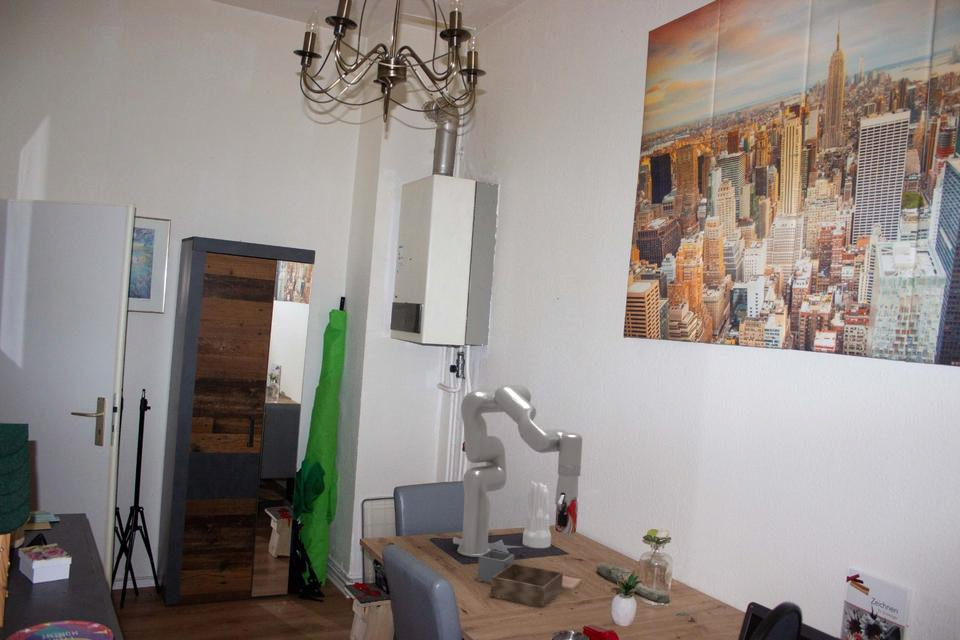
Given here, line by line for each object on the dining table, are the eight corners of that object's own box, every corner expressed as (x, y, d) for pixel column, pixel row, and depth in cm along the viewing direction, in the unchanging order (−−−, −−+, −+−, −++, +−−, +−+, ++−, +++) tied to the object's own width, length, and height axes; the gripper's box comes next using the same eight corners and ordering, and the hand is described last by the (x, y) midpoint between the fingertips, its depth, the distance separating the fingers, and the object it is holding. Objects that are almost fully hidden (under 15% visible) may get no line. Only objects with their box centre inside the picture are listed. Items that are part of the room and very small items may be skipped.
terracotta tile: (542, 584, 265) (543, 581, 265) (553, 576, 274) (553, 573, 274) (571, 590, 261) (572, 587, 261) (581, 581, 270) (581, 579, 270)
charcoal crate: (477, 580, 264) (478, 556, 265) (488, 573, 273) (489, 550, 273) (502, 585, 261) (503, 561, 261) (512, 578, 269) (514, 554, 269)
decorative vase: (532, 539, 320) (536, 476, 320) (555, 544, 314) (559, 480, 314) (517, 544, 312) (521, 479, 312) (540, 550, 305) (544, 484, 305)
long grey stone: (652, 609, 252) (676, 607, 256) (654, 593, 252) (679, 591, 256) (587, 570, 283) (610, 569, 287) (589, 555, 282) (612, 554, 287)
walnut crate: (490, 596, 250) (491, 576, 250) (511, 581, 266) (513, 563, 266) (543, 607, 243) (544, 587, 243) (561, 591, 259) (562, 573, 259)
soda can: (575, 536, 263) (577, 500, 263) (553, 534, 265) (556, 498, 265) (576, 531, 270) (579, 495, 270) (556, 529, 272) (558, 493, 272)
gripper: (566, 465, 277) (563, 517, 277) (549, 472, 261) (546, 527, 261) (587, 468, 274) (584, 520, 274) (571, 475, 258) (568, 531, 258)
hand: (565, 523), depth 267 cm, fingers closed on soda can, 7 cm apart
